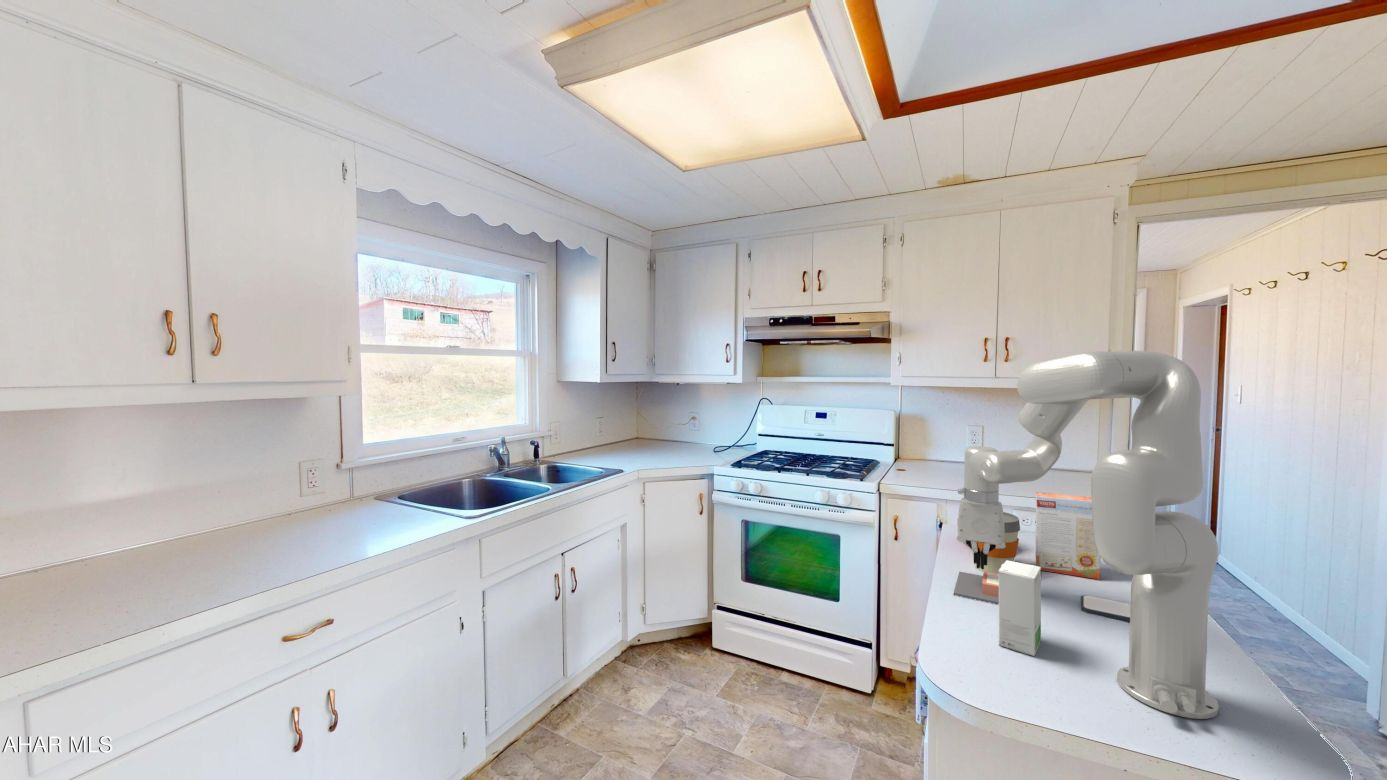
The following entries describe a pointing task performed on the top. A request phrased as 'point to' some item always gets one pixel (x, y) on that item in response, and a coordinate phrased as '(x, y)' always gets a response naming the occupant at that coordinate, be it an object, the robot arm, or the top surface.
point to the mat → (972, 588)
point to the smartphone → (1106, 608)
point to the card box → (990, 583)
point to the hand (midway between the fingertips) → (980, 566)
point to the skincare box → (1020, 607)
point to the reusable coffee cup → (1003, 554)
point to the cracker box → (1066, 535)
